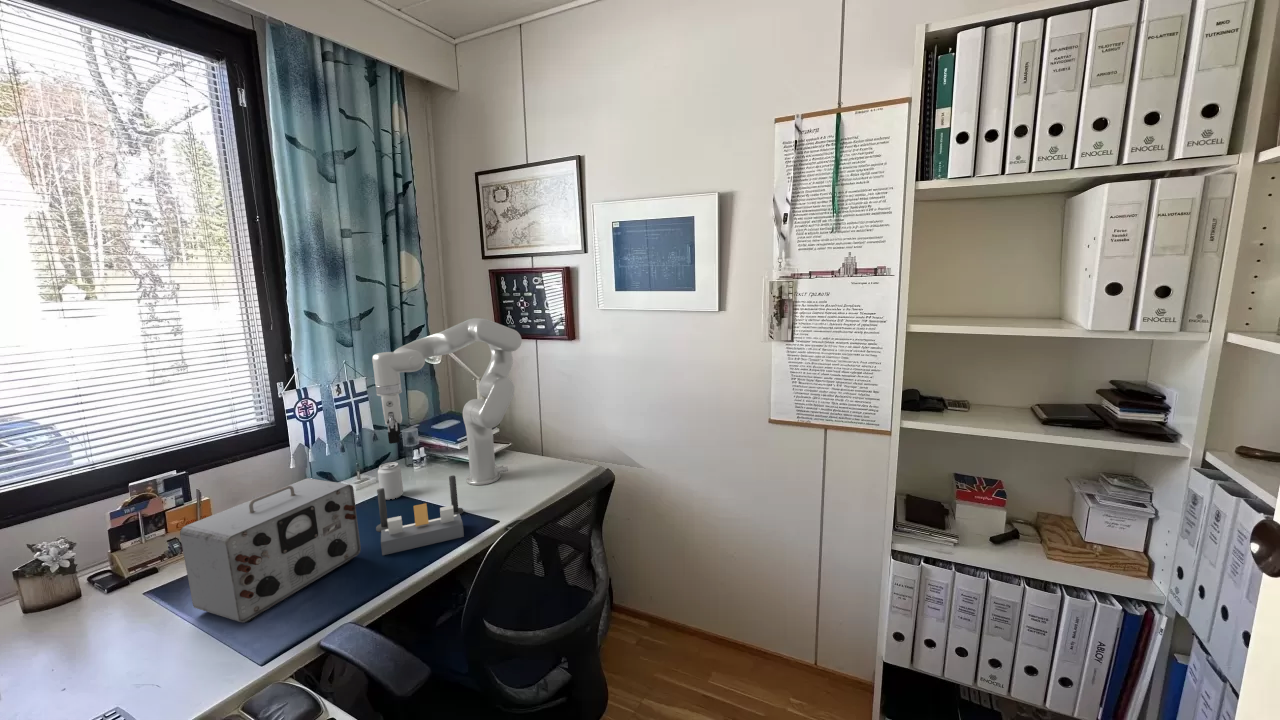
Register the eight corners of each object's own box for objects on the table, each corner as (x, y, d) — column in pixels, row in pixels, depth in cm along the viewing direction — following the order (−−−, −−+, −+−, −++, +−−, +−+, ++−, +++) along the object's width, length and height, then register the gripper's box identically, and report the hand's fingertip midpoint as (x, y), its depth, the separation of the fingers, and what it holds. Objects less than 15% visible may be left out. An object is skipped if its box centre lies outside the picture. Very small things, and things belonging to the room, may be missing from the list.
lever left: (402, 528, 149) (401, 515, 145) (403, 531, 148) (401, 519, 144) (389, 531, 147) (387, 518, 144) (389, 534, 146) (387, 522, 143)
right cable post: (462, 508, 172) (459, 472, 170) (464, 514, 167) (461, 477, 165) (446, 511, 170) (443, 475, 168) (448, 518, 165) (444, 480, 163)
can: (397, 500, 180) (393, 468, 178) (376, 501, 180) (372, 468, 178) (407, 491, 187) (404, 460, 185) (387, 492, 187) (383, 461, 185)
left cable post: (393, 523, 163) (389, 485, 161) (393, 529, 158) (389, 490, 156) (376, 526, 161) (371, 488, 159) (375, 533, 156) (371, 494, 154)
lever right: (453, 517, 155) (452, 505, 151) (453, 520, 154) (453, 508, 150) (440, 520, 153) (439, 507, 150) (441, 523, 152) (440, 511, 149)
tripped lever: (428, 523, 152) (426, 503, 154) (428, 523, 151) (426, 503, 153) (415, 526, 151) (413, 506, 153) (415, 526, 150) (413, 505, 152)
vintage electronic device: (246, 632, 113) (229, 527, 109) (194, 616, 119) (176, 516, 115) (367, 558, 142) (356, 473, 138) (320, 548, 148) (309, 466, 144)
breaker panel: (460, 525, 160) (459, 513, 159) (463, 536, 153) (462, 523, 152) (382, 542, 150) (381, 529, 150) (382, 555, 143) (380, 541, 143)
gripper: (400, 393, 163) (406, 444, 165) (401, 383, 178) (407, 430, 181) (374, 396, 160) (381, 448, 162) (378, 386, 175) (384, 433, 178)
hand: (395, 438), depth 172 cm, fingers open, 9 cm apart
